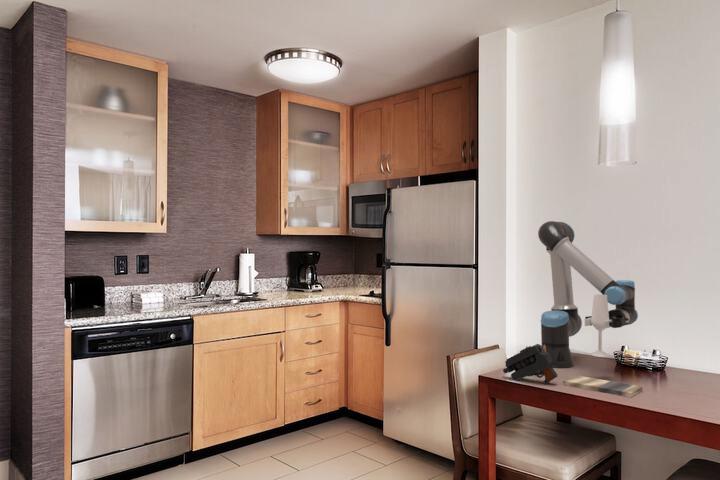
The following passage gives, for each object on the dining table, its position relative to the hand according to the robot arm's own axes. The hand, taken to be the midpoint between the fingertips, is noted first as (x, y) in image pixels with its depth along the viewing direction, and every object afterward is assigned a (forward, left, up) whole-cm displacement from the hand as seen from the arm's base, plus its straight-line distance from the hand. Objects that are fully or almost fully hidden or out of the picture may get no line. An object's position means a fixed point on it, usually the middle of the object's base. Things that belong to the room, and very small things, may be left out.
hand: (595, 323), depth 202 cm
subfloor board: (+6, -9, -22) cm, 25 cm away
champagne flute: (0, +5, -13) cm, 14 cm away
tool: (-18, -18, -23) cm, 34 cm away
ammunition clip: (-21, -7, -23) cm, 32 cm away
